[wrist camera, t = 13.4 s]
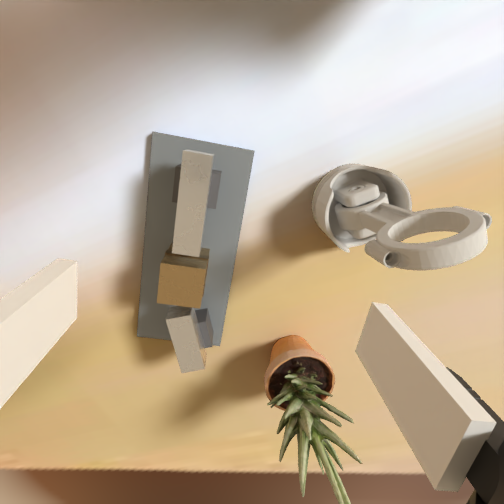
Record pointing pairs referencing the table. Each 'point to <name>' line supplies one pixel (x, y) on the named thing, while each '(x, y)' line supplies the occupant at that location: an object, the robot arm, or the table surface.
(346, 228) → the engine component
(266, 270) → the table surface
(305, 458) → the potted plant
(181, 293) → the tan cardboard block
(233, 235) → the shaft bench
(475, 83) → the table surface
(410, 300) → the table surface
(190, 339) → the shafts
